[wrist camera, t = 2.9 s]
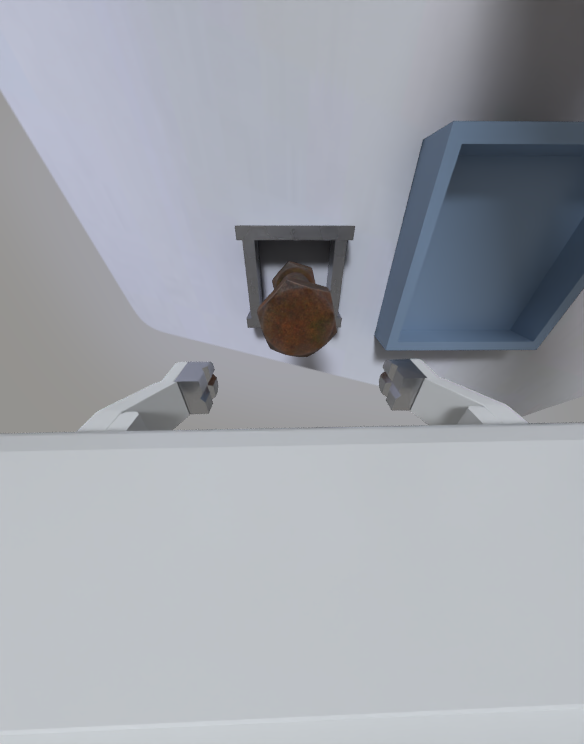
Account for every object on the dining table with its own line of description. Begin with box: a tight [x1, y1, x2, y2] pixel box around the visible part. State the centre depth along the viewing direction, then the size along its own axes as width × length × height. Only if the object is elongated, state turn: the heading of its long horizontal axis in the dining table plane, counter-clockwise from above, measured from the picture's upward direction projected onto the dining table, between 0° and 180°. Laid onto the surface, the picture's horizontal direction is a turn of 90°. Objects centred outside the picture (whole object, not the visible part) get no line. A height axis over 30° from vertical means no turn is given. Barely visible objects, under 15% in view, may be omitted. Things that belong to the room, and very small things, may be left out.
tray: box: [374, 121, 584, 350], centre depth 24 cm, size 20×20×4 cm
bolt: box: [257, 261, 337, 357], centre depth 20 cm, size 6×5×15 cm
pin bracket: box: [235, 225, 355, 328], centre depth 25 cm, size 12×11×3 cm
